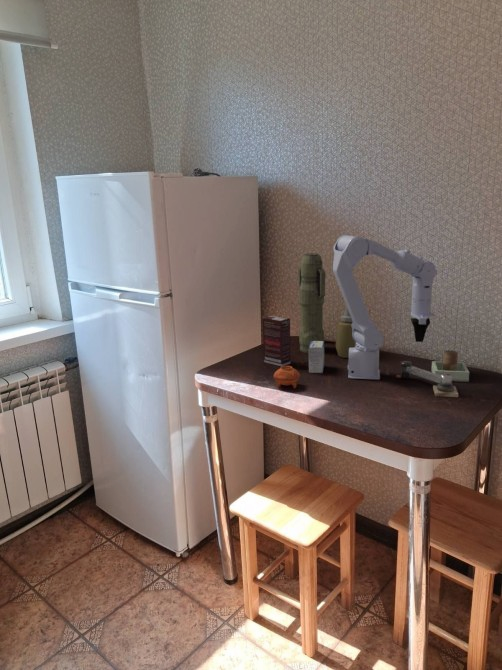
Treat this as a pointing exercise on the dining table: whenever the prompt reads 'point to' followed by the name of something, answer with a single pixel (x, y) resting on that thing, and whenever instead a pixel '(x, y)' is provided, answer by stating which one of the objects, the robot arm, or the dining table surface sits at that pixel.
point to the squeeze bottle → (345, 335)
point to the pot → (286, 376)
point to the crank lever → (425, 374)
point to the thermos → (311, 300)
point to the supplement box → (276, 340)
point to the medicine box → (316, 357)
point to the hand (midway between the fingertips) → (419, 341)
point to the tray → (458, 375)
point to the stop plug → (450, 360)
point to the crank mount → (443, 390)
